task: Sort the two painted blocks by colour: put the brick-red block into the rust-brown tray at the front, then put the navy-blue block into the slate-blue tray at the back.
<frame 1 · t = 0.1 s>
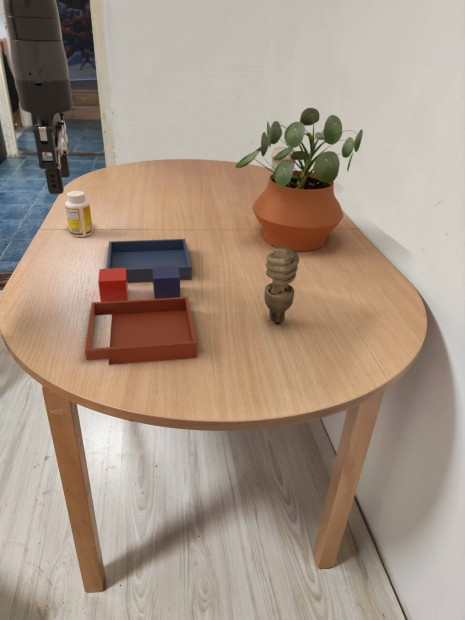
hand: (60, 184, 75), 22 cm above the table, tool pointing down, fingers open, 8 cm apart
coffee cup: (280, 187, 151), on the table
blue block: (166, 294, 90), on the table
potted plant: (283, 240, 115), on the table
light bulb: (275, 323, 83), on the table
front tray: (142, 335, 78), on the table
supplement bottle: (81, 234, 113), on the table
red block: (115, 296, 88), on the table
back tray: (149, 265, 100), on the table
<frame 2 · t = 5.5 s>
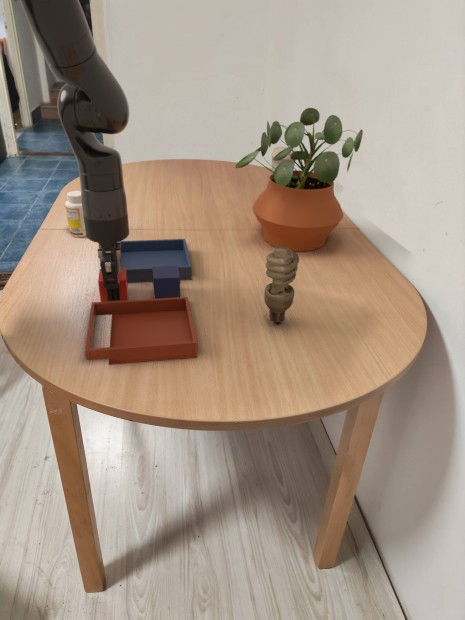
hand: (114, 294, 88), 1 cm above the table, tool pointing down, fingers closed on red block, 5 cm apart
red block: (115, 296, 88), on the table, touching gripper
everything else where it was.
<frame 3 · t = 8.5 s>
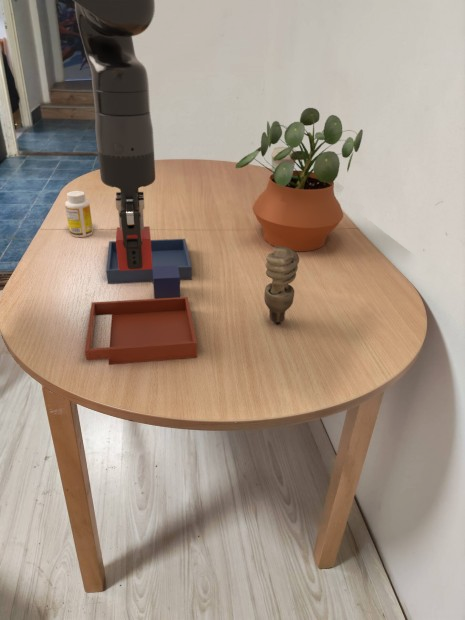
hand: (135, 259, 71), 14 cm above the table, tool pointing down, fingers closed on red block, 5 cm apart
red block: (135, 262, 71), point 14 cm above the table, touching gripper
everything else where it was.
when the fingers open (1 cm above the table, at t = 12.0 s): red block stays where it is, resting on front tray.
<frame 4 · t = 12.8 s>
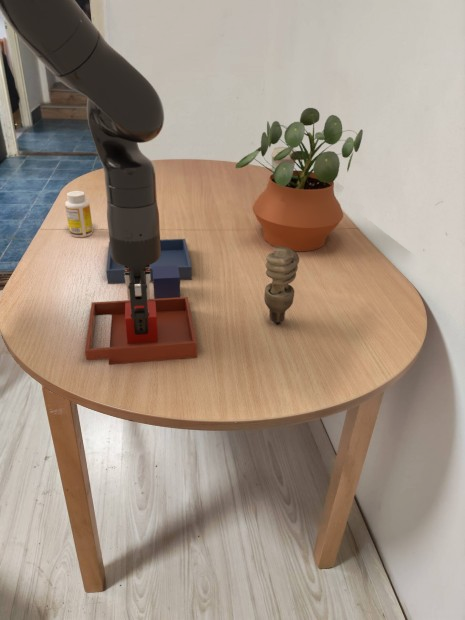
hand: (141, 318, 76), 3 cm above the table, tool pointing down, fingers open, 8 cm apart
red block: (142, 333, 78), resting on front tray
everything else where it was.
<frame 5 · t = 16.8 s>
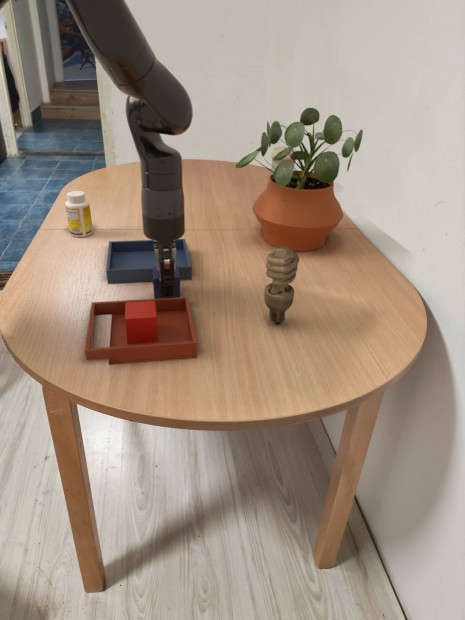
hand: (166, 291, 90), 1 cm above the table, tool pointing down, fingers closed on blue block, 5 cm apart
blue block: (166, 294, 90), on the table, touching gripper
everything else where it was.
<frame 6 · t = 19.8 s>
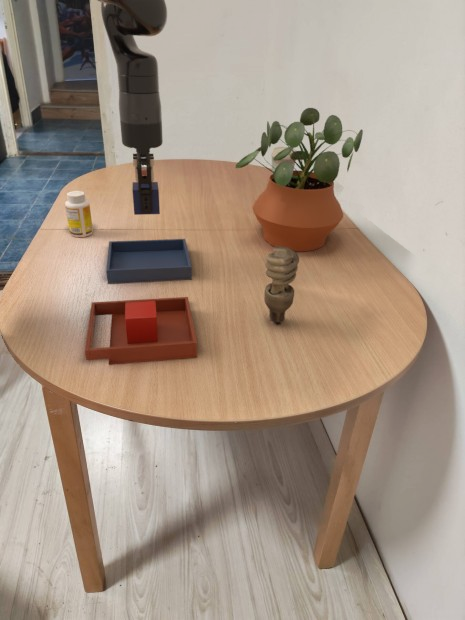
hand: (146, 207, 92), 14 cm above the table, tool pointing down, fingers closed on blue block, 5 cm apart
blue block: (146, 210, 92), point 13 cm above the table, touching gripper
everything else where it was.
when the fingers open (1 cm above the table, at t = 23.1 s): blue block stays where it is, resting on back tray.
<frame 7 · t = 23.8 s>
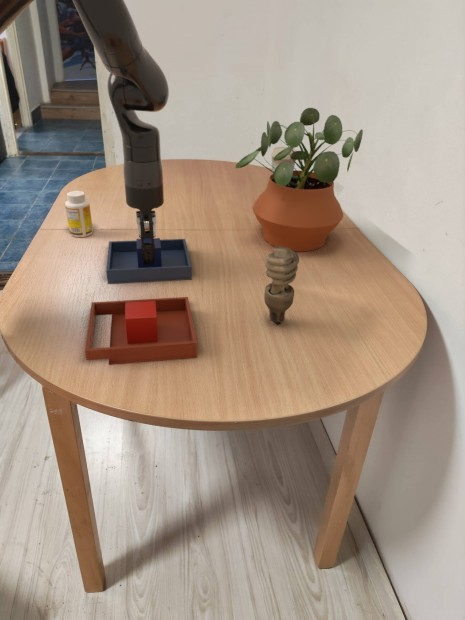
hand: (148, 255, 98), 3 cm above the table, tool pointing down, fingers open, 8 cm apart
blue block: (149, 264, 99), resting on back tray
everything else where it was.
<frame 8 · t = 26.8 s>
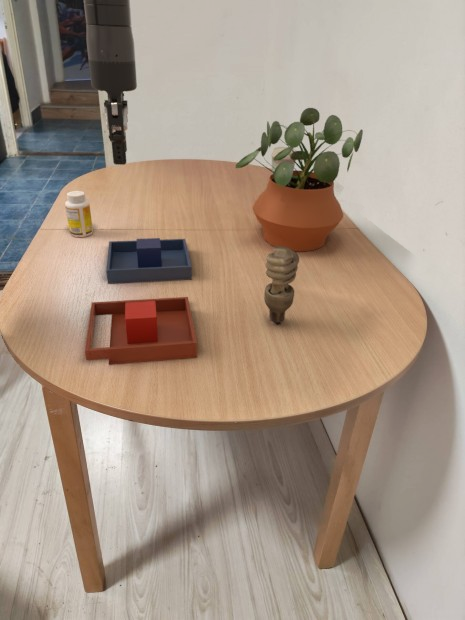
hand: (120, 157, 84), 24 cm above the table, tool pointing down, fingers open, 8 cm apart
nothing on the table moved.
at the end: red block inside the target area in the front tray (0.2 cm from its centre), point 0.5 cm above the front tray's base; blue block inside the target area in the back tray (0.2 cm from its centre), point 0.5 cm above the back tray's base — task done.
